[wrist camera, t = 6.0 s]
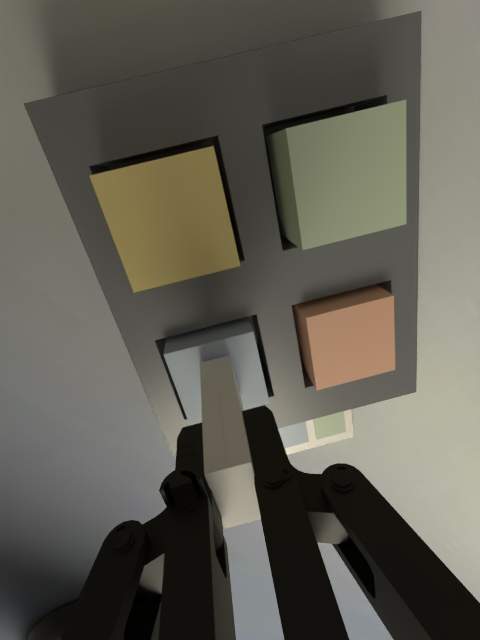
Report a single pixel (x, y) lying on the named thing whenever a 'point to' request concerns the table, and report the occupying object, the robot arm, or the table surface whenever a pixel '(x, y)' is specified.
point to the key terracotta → (346, 335)
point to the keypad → (247, 203)
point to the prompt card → (317, 432)
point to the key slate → (213, 344)
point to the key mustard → (168, 218)
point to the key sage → (341, 175)
